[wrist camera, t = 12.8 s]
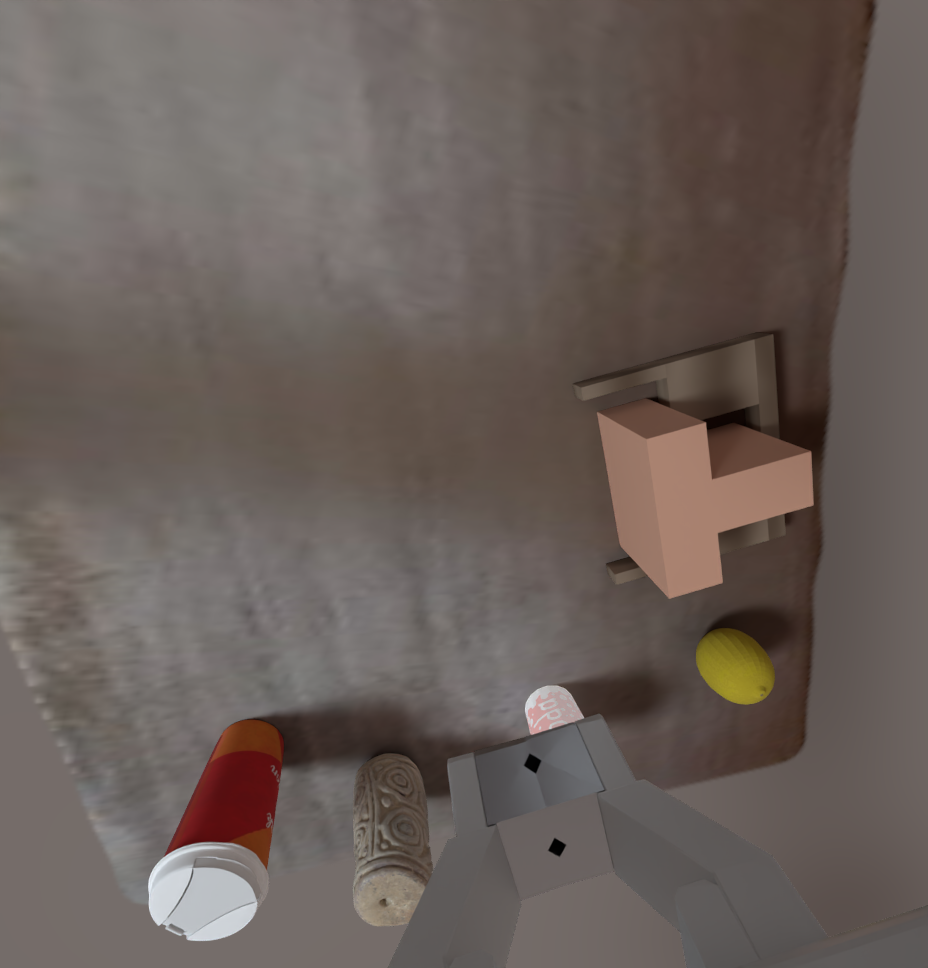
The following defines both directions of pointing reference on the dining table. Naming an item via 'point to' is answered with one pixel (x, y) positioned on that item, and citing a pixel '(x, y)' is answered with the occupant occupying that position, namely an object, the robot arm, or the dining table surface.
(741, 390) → the t dock
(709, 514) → the t block
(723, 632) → the lemon
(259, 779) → the paper cup
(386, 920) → the carving
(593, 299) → the dining table surface
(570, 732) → the robot arm
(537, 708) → the beverage cup
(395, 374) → the dining table surface
